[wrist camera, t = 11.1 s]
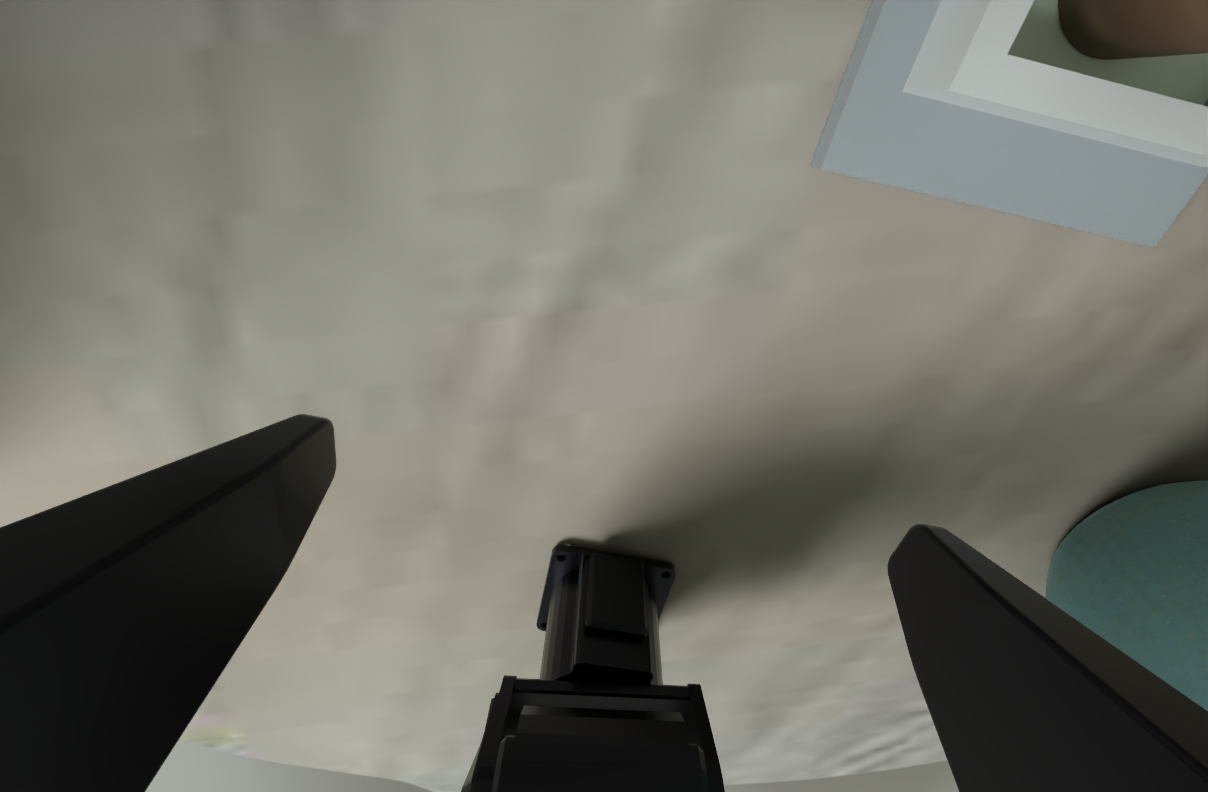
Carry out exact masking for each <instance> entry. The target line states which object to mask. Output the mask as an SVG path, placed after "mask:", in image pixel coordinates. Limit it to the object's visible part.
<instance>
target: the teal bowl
mask: <svg viewBox="0 0 1208 792" xmlns="http://www.w3.org/2000/svg"><path fill="white" fill-rule="evenodd" d="M1046 599H1047V600H1049V601H1050V602H1051V603H1053V604H1054V605H1056V606H1057V607H1059V608H1060V609H1062V610H1063V611H1064V612H1066V613H1067V614H1069V615H1070V616H1072V617H1073V618H1074V619H1076V620H1077V621H1079V622H1080V623H1082V624H1083V625H1085V626H1086V627H1087V628H1089V629H1090V630H1092V631H1093V632H1095V633H1096V634H1097V635H1099V636H1100V637H1102V638H1103V639H1105V640H1106V641H1108V642H1109V643H1110V644H1112V645H1113V646H1115V647H1116V648H1118V649H1119V650H1121V651H1122V652H1123V653H1125V654H1126V655H1128V656H1129V657H1131V658H1132V659H1133V660H1135V661H1136V662H1138V663H1139V664H1141V665H1142V666H1144V667H1145V668H1146V669H1148V670H1149V671H1151V672H1152V673H1154V674H1155V675H1156V676H1158V677H1159V678H1161V679H1162V680H1164V681H1165V682H1167V683H1168V684H1169V685H1171V686H1172V687H1174V688H1175V689H1177V690H1178V691H1180V692H1181V693H1182V694H1184V695H1185V696H1187V697H1188V698H1190V699H1191V700H1192V701H1194V702H1195V703H1197V704H1198V705H1200V706H1201V707H1203V708H1204V709H1205V710H1207V711H1208V481H1204V480H1203V481H1188V482H1178V483H1170V484H1164V485H1159V486H1155V487H1151V488H1147V489H1143V490H1140V491H1137V492H1134V493H1132V494H1130V495H1127V496H1125V497H1122V498H1120V499H1117V500H1115V501H1113V502H1112V503H1110V504H1108V505H1106V506H1104V507H1102V508H1100V509H1099V510H1097V511H1096V512H1094V513H1093V514H1091V515H1090V516H1088V517H1087V518H1086V519H1085V520H1083V521H1082V522H1081V523H1079V524H1078V525H1077V526H1076V527H1075V528H1074V529H1073V530H1072V531H1071V532H1070V533H1069V534H1068V535H1067V536H1066V537H1065V538H1064V540H1063V541H1062V542H1061V544H1060V545H1059V547H1058V548H1057V550H1056V552H1055V554H1054V556H1053V559H1052V561H1051V564H1050V568H1049V572H1048V578H1047V587H1046Z"/></svg>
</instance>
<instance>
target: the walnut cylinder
mask: <svg viewBox="0 0 1208 792" xmlns="http://www.w3.org/2000/svg"><path fill="white" fill-rule="evenodd" d="M1058 12H1059V19H1060V23H1061V27H1062V29H1063V32H1064V34H1065V36H1066V38H1067V39H1068V41H1069V42H1070V44H1071V45H1072V46H1073V47H1074V48H1075V49H1076V50H1078V51H1079V52H1081V53H1082V54H1084V55H1086V56H1089V57H1091V58H1096V59H1101V60H1115V59H1130V58H1144V57H1159V56H1174V55H1188V54H1203V53H1208V0H1058Z"/></svg>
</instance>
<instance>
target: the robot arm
mask: <svg viewBox="0 0 1208 792" xmlns="http://www.w3.org/2000/svg"><path fill="white" fill-rule="evenodd" d="M335 470H336V452H335V439H334V428H333V424H332V422H331V421H330V420H329V419H327V418H323V417H317V416H312V415H306V414H299V415H296V416H293V417H290V418H288V419H285V420H283V421H280V422H277V423H275V424H272V425H269V426H267V427H264V428H262V429H259V430H256V431H254V432H251V433H248V434H246V435H243V436H240V437H238V438H235V439H233V440H230V441H227V442H225V443H222V444H219V445H217V446H214V447H212V448H209V449H206V450H204V451H201V452H198V453H196V454H193V455H191V456H188V457H185V458H183V459H180V460H177V461H175V462H172V463H169V464H167V465H164V466H162V467H159V468H156V469H154V470H151V471H148V472H146V473H143V474H140V475H138V476H135V477H133V478H130V479H127V480H125V481H122V482H119V483H117V484H114V485H111V486H109V487H106V488H104V489H101V490H98V491H96V492H93V493H90V494H88V495H85V496H82V497H80V498H77V499H75V500H72V501H69V502H67V503H64V504H61V505H59V506H56V507H53V508H51V509H48V510H46V511H43V512H40V513H38V514H35V515H32V516H30V517H27V518H24V519H22V520H19V521H17V522H14V523H11V524H9V525H6V526H3V527H1V528H0V792H145V791H146V789H147V788H148V786H149V785H150V783H151V782H152V780H153V779H154V777H155V775H156V774H157V772H158V771H159V769H160V768H161V766H162V765H163V763H164V761H165V760H166V758H167V757H168V755H169V754H170V752H171V751H172V749H173V748H174V746H175V744H176V743H177V741H178V740H179V738H180V737H181V735H182V734H183V732H184V731H185V729H186V727H187V726H188V724H189V723H190V721H191V720H192V718H193V717H194V715H195V714H196V712H197V710H198V709H199V707H200V706H201V704H202V703H203V701H204V700H205V698H206V696H207V695H208V693H209V692H210V690H211V689H212V687H213V686H214V684H215V683H216V681H217V679H218V678H219V676H220V675H221V673H222V672H223V670H224V669H225V667H226V665H227V664H228V662H229V661H230V659H231V658H232V656H233V655H234V653H235V652H236V650H237V648H238V647H239V645H240V644H241V642H242V641H243V639H244V638H245V636H246V634H247V633H248V631H249V630H250V628H251V627H252V625H253V624H254V622H255V621H256V619H257V617H258V616H259V614H260V613H261V611H262V610H263V608H264V607H265V605H266V603H267V602H268V600H269V599H270V597H271V596H272V594H273V593H274V591H275V590H276V588H277V586H278V585H279V583H280V581H281V580H282V578H283V576H284V575H285V573H286V572H287V570H288V568H289V566H290V564H291V562H292V560H293V558H294V557H295V555H296V553H297V551H298V549H299V547H300V545H301V543H302V541H303V539H304V536H305V534H306V532H307V530H308V528H309V526H310V524H311V522H312V520H313V518H314V516H315V514H316V512H317V510H318V508H319V506H320V504H321V502H322V500H323V498H324V496H325V494H326V492H327V490H328V488H329V486H330V484H331V482H332V480H333V478H334V475H335ZM561 555H563V556H561ZM675 575H676V573H675V567H674V565H673V564H671V563H668V562H662V561H656V560H650V559H644V558H638V557H632V556H626V555H620V554H614V553H608V552H602V551H595V550H589V549H583V548H577V547H571V546H565V545H559V546H556V547H554V548H553V550H552V555H551V559H550V564H549V568H548V573H547V577H546V582H545V587H544V591H543V596H542V600H541V605H540V610H539V614H538V619H537V627H538V629H540V630H542V631H546V635H545V643H544V650H543V658H542V665H541V673H540V679H520V678H517V676H504V678H503V681H502V685H501V689H500V692H499V693H496V695H495V698H493V699H491V704H490V709H489V713H488V718H487V723H486V727H485V732H484V735H483V739H482V742H481V744H480V747H479V749H478V752H477V754H476V756H475V759H474V761H473V764H472V766H471V768H470V771H469V773H468V775H467V778H466V780H465V783H464V785H463V787H462V791H461V792H725V791H724V785H723V778H722V773H721V768H720V764H719V759H718V755H717V751H716V747H715V743H714V739H713V735H712V731H711V727H710V723H709V718H708V714H707V710H706V706H705V702H704V698H703V694H702V690H701V686H700V684H687V686H675V685H663V681H662V668H661V656H660V643H659V630H658V618H659V616H660V613H661V611H662V608H663V606H664V603H665V601H666V598H667V596H668V594H669V591H670V589H671V586H672V584H673V581H674V579H675ZM888 576H889V580H890V583H891V587H892V591H893V595H894V598H895V602H896V606H897V609H898V613H899V617H900V621H901V624H902V628H903V632H904V635H905V639H906V643H907V647H908V650H909V654H910V657H911V661H912V664H913V667H914V670H915V673H916V676H917V679H918V682H919V685H920V687H921V690H922V693H923V695H924V698H925V701H926V703H927V706H928V709H929V712H930V714H931V717H932V720H933V722H934V725H935V728H936V730H937V733H938V736H939V738H940V741H941V744H942V747H943V749H944V752H945V755H946V757H947V760H948V762H949V765H950V768H951V770H952V773H953V776H954V779H955V781H956V784H957V787H958V790H959V792H1208V711H1207V710H1205V709H1204V708H1203V707H1201V706H1200V705H1198V704H1197V703H1195V702H1194V701H1192V700H1191V699H1190V698H1188V697H1187V696H1185V695H1184V694H1182V693H1181V692H1180V691H1178V690H1177V689H1175V688H1174V687H1172V686H1171V685H1169V684H1168V683H1167V682H1165V681H1164V680H1162V679H1161V678H1159V677H1158V676H1156V675H1155V674H1154V673H1152V672H1151V671H1149V670H1148V669H1146V668H1145V667H1144V666H1142V665H1141V664H1139V663H1138V662H1136V661H1135V660H1133V659H1132V658H1131V657H1129V656H1128V655H1126V654H1125V653H1123V652H1122V651H1121V650H1119V649H1118V648H1116V647H1115V646H1113V645H1112V644H1110V643H1109V642H1108V641H1106V640H1105V639H1103V638H1102V637H1100V636H1099V635H1097V634H1096V633H1095V632H1093V631H1092V630H1090V629H1089V628H1087V627H1086V626H1085V625H1083V624H1082V623H1080V622H1079V621H1077V620H1076V619H1074V618H1073V617H1072V616H1070V615H1069V614H1067V613H1066V612H1064V611H1063V610H1062V609H1060V608H1059V607H1057V606H1056V605H1054V604H1053V603H1051V602H1050V601H1049V600H1047V599H1046V598H1044V597H1043V596H1041V595H1040V594H1039V593H1037V592H1036V591H1034V590H1033V589H1031V588H1030V587H1028V586H1027V585H1026V584H1024V583H1023V582H1021V581H1020V580H1018V579H1017V578H1015V577H1014V576H1013V575H1011V574H1010V573H1008V572H1007V571H1005V570H1004V569H1003V568H1001V567H1000V566H998V565H997V564H995V563H994V562H992V561H991V560H990V559H988V558H987V557H985V556H984V555H982V554H981V553H980V552H978V551H977V550H975V549H974V548H972V547H971V546H969V545H968V544H967V543H965V542H964V541H962V540H961V539H959V538H958V537H956V536H955V535H954V534H952V533H951V532H949V531H948V530H946V529H944V528H941V527H936V526H930V525H925V524H917V525H915V526H913V527H911V528H910V529H909V531H908V532H907V534H906V535H905V537H904V538H903V539H902V541H901V542H900V544H899V545H898V547H897V548H896V550H895V551H894V552H893V554H892V555H891V557H890V559H889V562H888Z"/></svg>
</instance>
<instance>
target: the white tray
mask: <svg viewBox="0 0 1208 792" xmlns="http://www.w3.org/2000/svg"><path fill="white" fill-rule="evenodd" d="M810 166H812V167H815V168H818V169H821V170H825V171H830V172H834V173H838V174H843V175H847V176H851V177H855V178H860V179H864V180H868V181H872V182H877V183H881V184H885V185H889V186H894V187H898V188H902V189H906V190H911V191H915V192H919V193H923V194H928V195H932V196H936V197H940V198H945V199H949V200H953V201H957V202H962V203H966V204H970V205H974V206H979V207H983V208H987V209H992V210H996V211H1000V212H1004V213H1009V214H1013V215H1017V216H1021V217H1026V218H1030V219H1034V220H1038V221H1043V222H1047V223H1051V224H1055V225H1060V226H1064V227H1068V228H1072V229H1077V230H1081V231H1085V232H1089V233H1094V234H1098V235H1102V236H1106V237H1111V238H1115V239H1119V240H1123V241H1128V242H1132V243H1136V244H1141V245H1145V246H1149V247H1153V248H1154V247H1155V246H1156V244H1157V243H1158V242H1159V240H1160V239H1161V238H1162V236H1163V235H1164V234H1165V232H1166V231H1167V230H1168V228H1169V227H1170V226H1171V224H1172V223H1173V222H1174V220H1175V219H1176V217H1177V216H1178V215H1179V213H1180V212H1181V211H1182V209H1183V208H1184V207H1185V205H1186V204H1187V203H1188V201H1189V200H1190V199H1191V197H1192V196H1193V194H1194V193H1195V192H1196V190H1197V189H1198V188H1199V186H1200V185H1201V184H1202V182H1203V181H1204V180H1205V178H1206V177H1207V176H1208V53H1203V54H1188V55H1174V56H1159V57H1144V58H1130V59H1115V60H1101V59H1096V58H1091V57H1089V56H1086V55H1084V54H1082V53H1081V52H1079V51H1078V50H1076V49H1075V48H1074V47H1073V46H1072V45H1071V44H1070V42H1069V41H1068V39H1067V38H1066V36H1065V34H1064V32H1063V29H1062V27H1061V23H1060V19H1059V12H1058V0H872V3H871V6H870V8H869V11H868V14H867V16H866V19H865V22H864V24H863V27H862V30H861V32H860V35H859V38H858V40H857V43H856V46H855V48H854V51H853V54H852V56H851V59H850V62H849V64H848V67H847V70H846V72H845V75H844V78H843V80H842V83H841V86H840V88H839V91H838V94H837V96H836V99H835V102H834V104H833V107H832V110H831V112H830V115H829V118H828V120H827V123H826V126H825V128H824V131H823V133H822V136H821V139H820V141H819V144H818V147H817V149H816V152H815V155H814V157H813V160H812V163H811V165H810Z"/></svg>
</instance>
